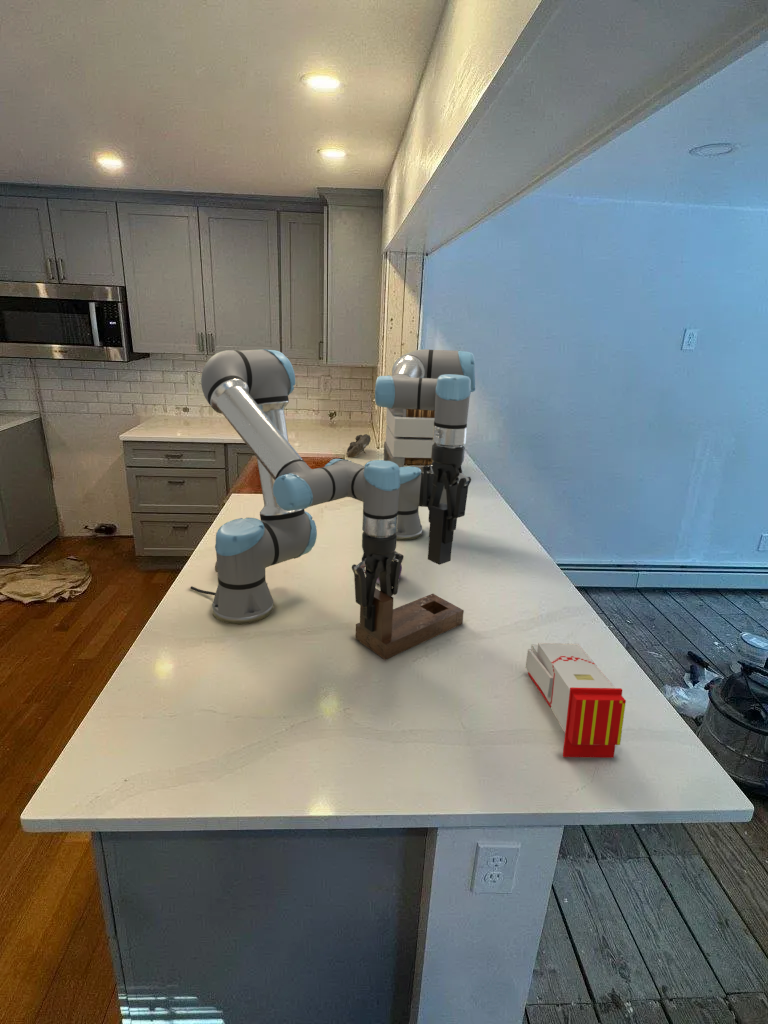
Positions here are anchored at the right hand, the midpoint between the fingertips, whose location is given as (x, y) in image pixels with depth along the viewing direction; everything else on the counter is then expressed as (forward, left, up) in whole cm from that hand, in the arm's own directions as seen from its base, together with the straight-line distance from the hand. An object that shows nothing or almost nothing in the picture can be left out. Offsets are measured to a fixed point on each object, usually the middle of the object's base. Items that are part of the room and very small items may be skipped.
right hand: (440, 538), depth 137 cm
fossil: (-148, +92, -23) cm, 176 cm away
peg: (0, 0, -6) cm, 6 cm away
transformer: (-102, +93, -23) cm, 140 cm away
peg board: (0, -8, -23) cm, 24 cm away
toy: (+40, -3, -23) cm, 46 cm away
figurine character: (-56, -28, -23) cm, 67 cm away
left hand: (0, -20, -17) cm, 26 cm away
